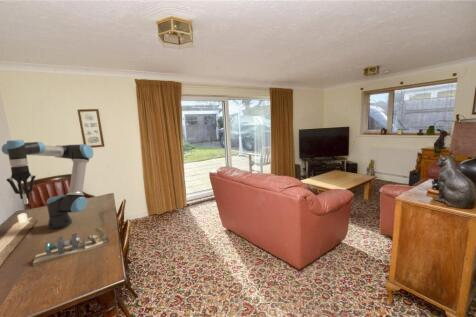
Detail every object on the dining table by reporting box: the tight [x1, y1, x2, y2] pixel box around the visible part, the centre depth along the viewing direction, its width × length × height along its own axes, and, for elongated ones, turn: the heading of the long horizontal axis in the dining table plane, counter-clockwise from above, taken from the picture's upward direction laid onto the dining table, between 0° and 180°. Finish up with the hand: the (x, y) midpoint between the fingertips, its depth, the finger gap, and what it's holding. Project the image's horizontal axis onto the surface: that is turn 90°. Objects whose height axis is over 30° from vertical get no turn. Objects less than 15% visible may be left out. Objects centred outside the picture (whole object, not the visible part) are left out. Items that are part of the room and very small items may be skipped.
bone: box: [87, 227, 104, 243], centre depth 141 cm, size 9×6×10 cm
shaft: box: [44, 236, 81, 254], centre depth 131 cm, size 16×6×6 cm, turn 124°
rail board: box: [32, 235, 110, 266], centre depth 134 cm, size 10×36×2 cm, turn 124°
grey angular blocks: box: [56, 231, 110, 255], centre depth 136 cm, size 10×25×9 cm, turn 124°
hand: (26, 203), depth 135 cm, fingers closed
